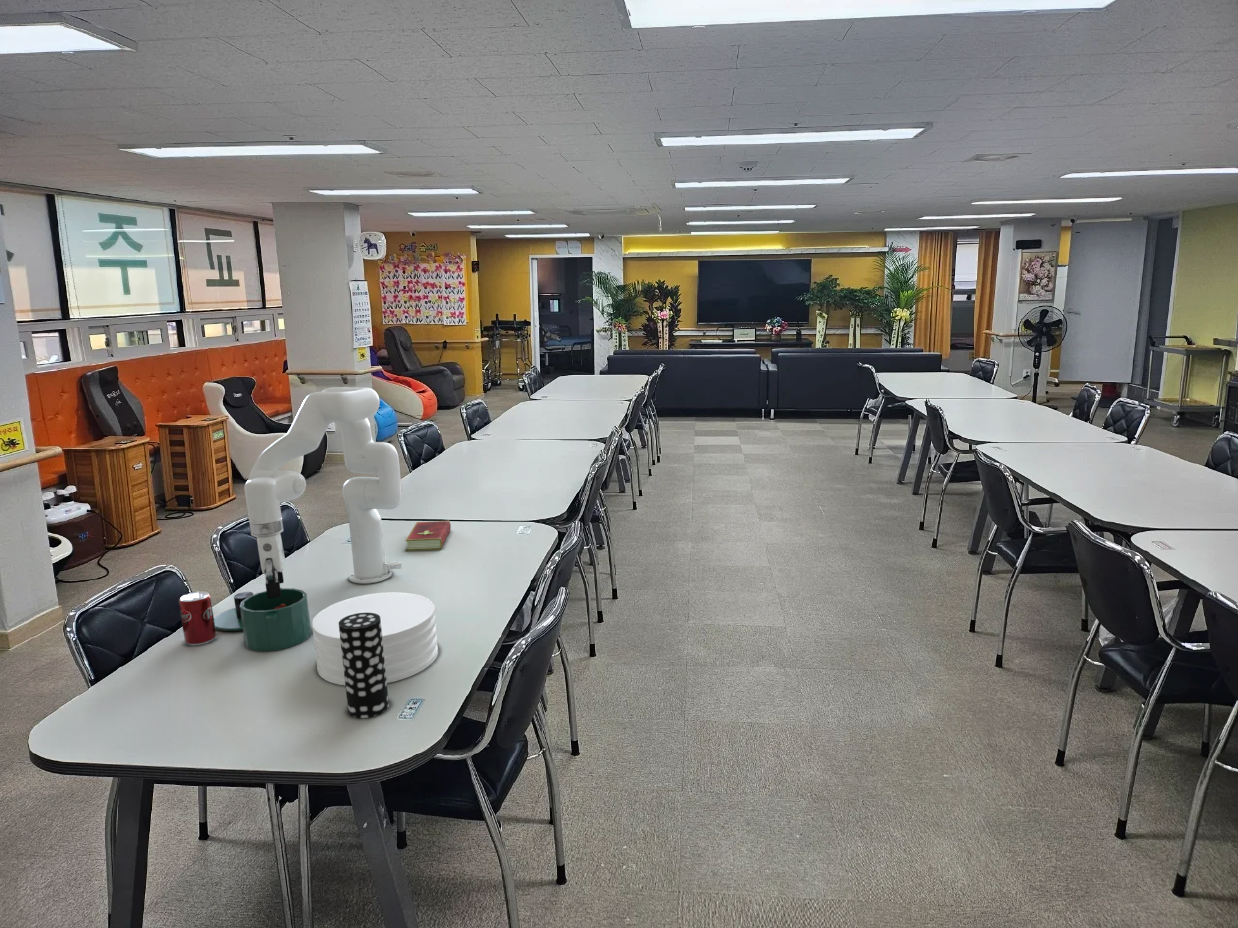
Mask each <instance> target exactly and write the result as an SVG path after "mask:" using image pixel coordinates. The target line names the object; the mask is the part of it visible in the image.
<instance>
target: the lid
mask: <svg viewBox="0 0 1238 928" xmlns="http://www.w3.org/2000/svg"><path fill="white" fill-rule="evenodd" d="M252 595H254V592H252V591H242V592H239V593H236V594H234V595H233V602H234V607H233V608H230V609H227V610H225V611H222V612H220V613H219V614H217V615H216V616H214V623H215V629H216V630H220V631H230V632H231V631H232V632H233V631H235V632H236V631H243V626H242V619H241V612H240V604H241V602H242V601H243V600H245V599H246V598H247V597H249V596H252Z"/></svg>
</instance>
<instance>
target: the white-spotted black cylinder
mask: <svg viewBox="0 0 1238 928" xmlns="http://www.w3.org/2000/svg"><path fill="white" fill-rule="evenodd" d="M339 632H340V641H341V650H342V659H343V668H344V677H345V685H344V686H345V695H346V703H347V713H348V715H349V716H351V717H353V718H356V719H369V718H373V717H377V716H379V715H382V714H383V713H384V712H386V711H387V710H388V709H389V706H390V703H389V702H390V701H389V692H388V691H389V690H388V683H387V680H386V670H385V660H384V650H383V639H382V629H381V619H380V616H379V615H378V614H375V613H357V614H352V615H349V616H347V617H344V618H343V619H341V620H340V621H339Z"/></svg>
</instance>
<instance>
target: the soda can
mask: <svg viewBox="0 0 1238 928" xmlns="http://www.w3.org/2000/svg"><path fill="white" fill-rule="evenodd" d="M178 607H179V612H180V620H181V626H182V632H183V640H184V643H186V644H187V645H188V646H201V645H205V644H208V643H211V642H212V641H214V640H215V639H216V637H217V631H216V630H217V629H216V628H215V623H214V618H215V616H214V610H213V602H212V596H211V594H210V593H209V592H207V591H195V592H189V593H186V594H183V595H182V596H181V597H180V598H179V599H178Z"/></svg>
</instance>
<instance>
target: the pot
mask: <svg viewBox="0 0 1238 928" xmlns="http://www.w3.org/2000/svg"><path fill="white" fill-rule="evenodd" d="M280 589H281V597H277V598H270V599H268V598H267V591H266V590H264V591H260V592H256V593H255V594H254V593H253V595H252V596H249V597H247V598H246V599H245V600H243V601H242V602H241V604H240V612H241V619H242V626H243V630H242V632H243V639H244V644H245V646H246V647H247V648H248V649H249V650H252V651H256V652H275V651H281V650H286V649H288V648H291V647H294V646H297V645H300V644H301V643H303V642H305V641H306V640H308V638H309V637H310V636H311V634H312V629H311V627H312V626H311V619H310V610H309V602H308V601H309V600H308V593H307V592H306V591H304V590H302V589H299V588H292V587H291V588H288V587H287V588H285V587H280ZM282 603H284V604H286V605H285V606H286V607H283V608H279V609H274V608H275V607H277V606H279V605H281V604H282Z"/></svg>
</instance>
